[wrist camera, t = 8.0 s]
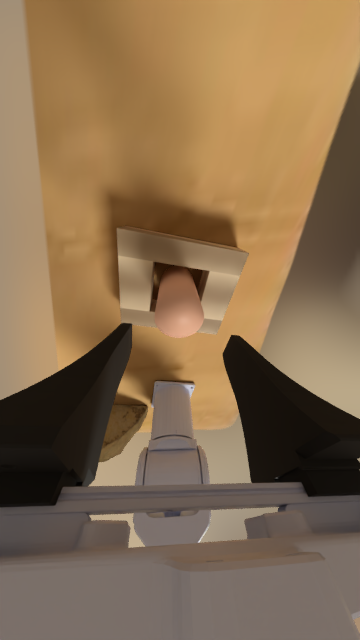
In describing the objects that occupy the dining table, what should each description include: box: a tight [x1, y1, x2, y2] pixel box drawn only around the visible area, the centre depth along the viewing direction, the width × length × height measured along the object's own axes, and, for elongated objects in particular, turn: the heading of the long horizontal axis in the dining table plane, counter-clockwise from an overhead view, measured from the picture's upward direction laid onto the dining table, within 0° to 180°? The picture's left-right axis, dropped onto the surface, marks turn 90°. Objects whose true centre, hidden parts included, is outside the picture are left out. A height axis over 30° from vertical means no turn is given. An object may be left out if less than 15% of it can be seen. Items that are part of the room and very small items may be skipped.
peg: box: [154, 266, 204, 338], centre depth 16 cm, size 4×4×8 cm
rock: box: [99, 405, 148, 462], centre depth 33 cm, size 11×9×10 cm
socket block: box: [117, 226, 249, 334], centre depth 18 cm, size 10×12×3 cm
